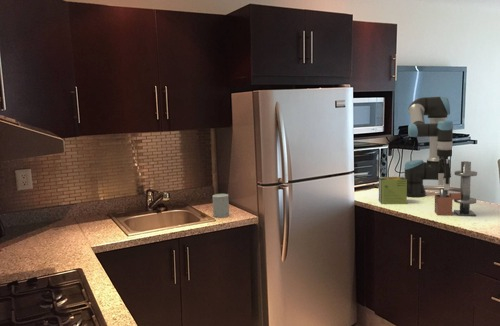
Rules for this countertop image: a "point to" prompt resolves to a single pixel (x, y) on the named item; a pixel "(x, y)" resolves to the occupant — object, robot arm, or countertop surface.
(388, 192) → the protein box
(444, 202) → the post with bracket
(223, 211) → the grey-green cylinder
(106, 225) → the countertop surface
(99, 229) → the countertop surface
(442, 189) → the dark grey cylinder
